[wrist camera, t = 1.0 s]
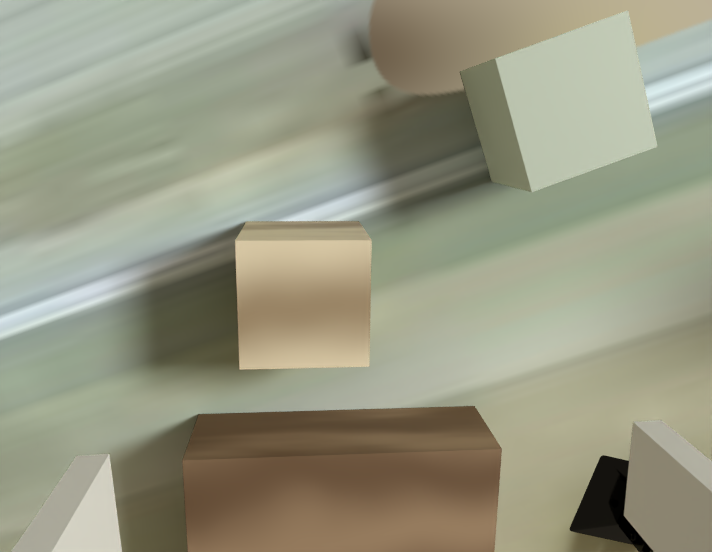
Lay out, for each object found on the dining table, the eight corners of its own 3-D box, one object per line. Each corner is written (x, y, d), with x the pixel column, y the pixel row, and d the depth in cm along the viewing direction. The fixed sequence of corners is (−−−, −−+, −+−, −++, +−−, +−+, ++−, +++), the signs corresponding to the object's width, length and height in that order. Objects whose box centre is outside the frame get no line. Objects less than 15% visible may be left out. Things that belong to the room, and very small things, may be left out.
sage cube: (459, 71, 32) (495, 58, 26) (567, 32, 32) (627, 10, 26) (491, 181, 33) (531, 192, 27) (594, 144, 33) (657, 146, 27)
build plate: (540, 530, 39) (570, 581, 35) (580, 429, 38) (617, 469, 33) (708, 566, 41) (758, 618, 37) (752, 471, 40) (809, 514, 35)
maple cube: (246, 221, 32) (235, 240, 27) (358, 221, 33) (371, 240, 27) (249, 328, 34) (239, 369, 28) (357, 326, 34) (369, 366, 29)
